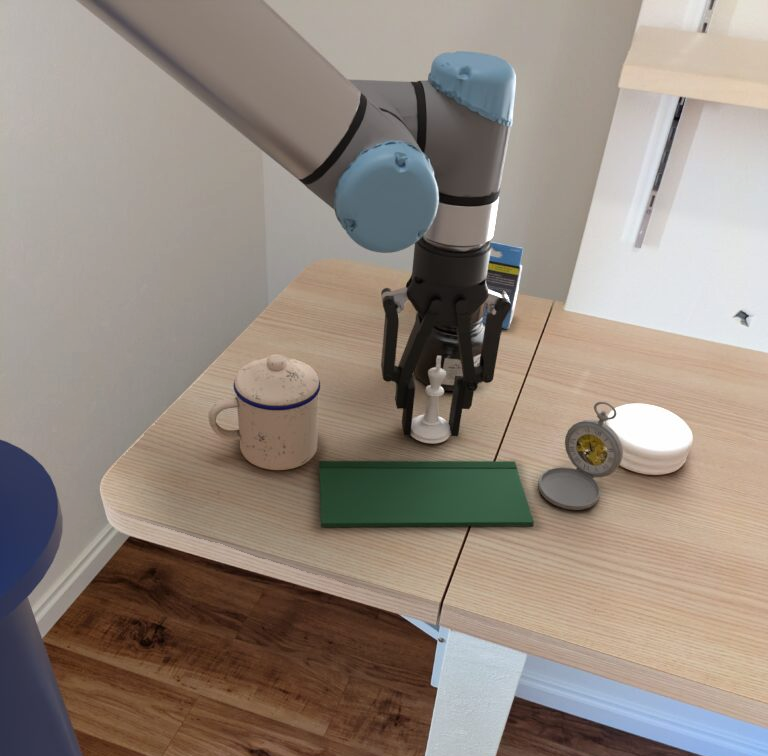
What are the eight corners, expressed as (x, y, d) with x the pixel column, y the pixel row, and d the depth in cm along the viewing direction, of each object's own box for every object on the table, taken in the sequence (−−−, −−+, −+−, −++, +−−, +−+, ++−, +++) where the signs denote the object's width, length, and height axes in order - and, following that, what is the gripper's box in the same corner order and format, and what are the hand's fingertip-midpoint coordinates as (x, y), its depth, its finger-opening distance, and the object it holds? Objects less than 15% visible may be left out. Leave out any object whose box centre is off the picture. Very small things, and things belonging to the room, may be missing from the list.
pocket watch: (537, 508, 85) (557, 432, 78) (537, 460, 91) (555, 386, 85) (614, 519, 84) (641, 443, 78) (609, 470, 91) (633, 396, 84)
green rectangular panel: (320, 527, 81) (320, 522, 80) (319, 465, 88) (319, 460, 88) (533, 526, 83) (534, 521, 82) (514, 466, 90) (515, 461, 90)
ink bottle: (455, 403, 99) (468, 315, 91) (398, 376, 103) (406, 290, 95) (495, 372, 105) (511, 287, 97) (440, 348, 109) (451, 264, 101)
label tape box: (513, 318, 116) (529, 236, 108) (508, 331, 113) (524, 248, 105) (455, 306, 118) (466, 225, 110) (448, 319, 115) (459, 236, 107)
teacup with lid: (307, 419, 94) (307, 331, 86) (329, 465, 88) (331, 375, 80) (205, 434, 91) (195, 344, 83) (221, 484, 85) (212, 391, 77)
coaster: (583, 431, 96) (590, 407, 94) (653, 420, 99) (661, 396, 97) (628, 483, 89) (637, 458, 87) (702, 469, 92) (712, 445, 90)
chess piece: (408, 442, 91) (416, 366, 85) (408, 417, 95) (416, 343, 89) (450, 445, 92) (462, 370, 85) (449, 420, 95) (460, 346, 89)
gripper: (535, 223, 81) (498, 411, 97) (360, 217, 80) (351, 410, 95) (552, 254, 76) (510, 449, 91) (364, 249, 74) (354, 448, 90)
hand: (429, 428), depth 93 cm, fingers closed on chess piece, 5 cm apart
